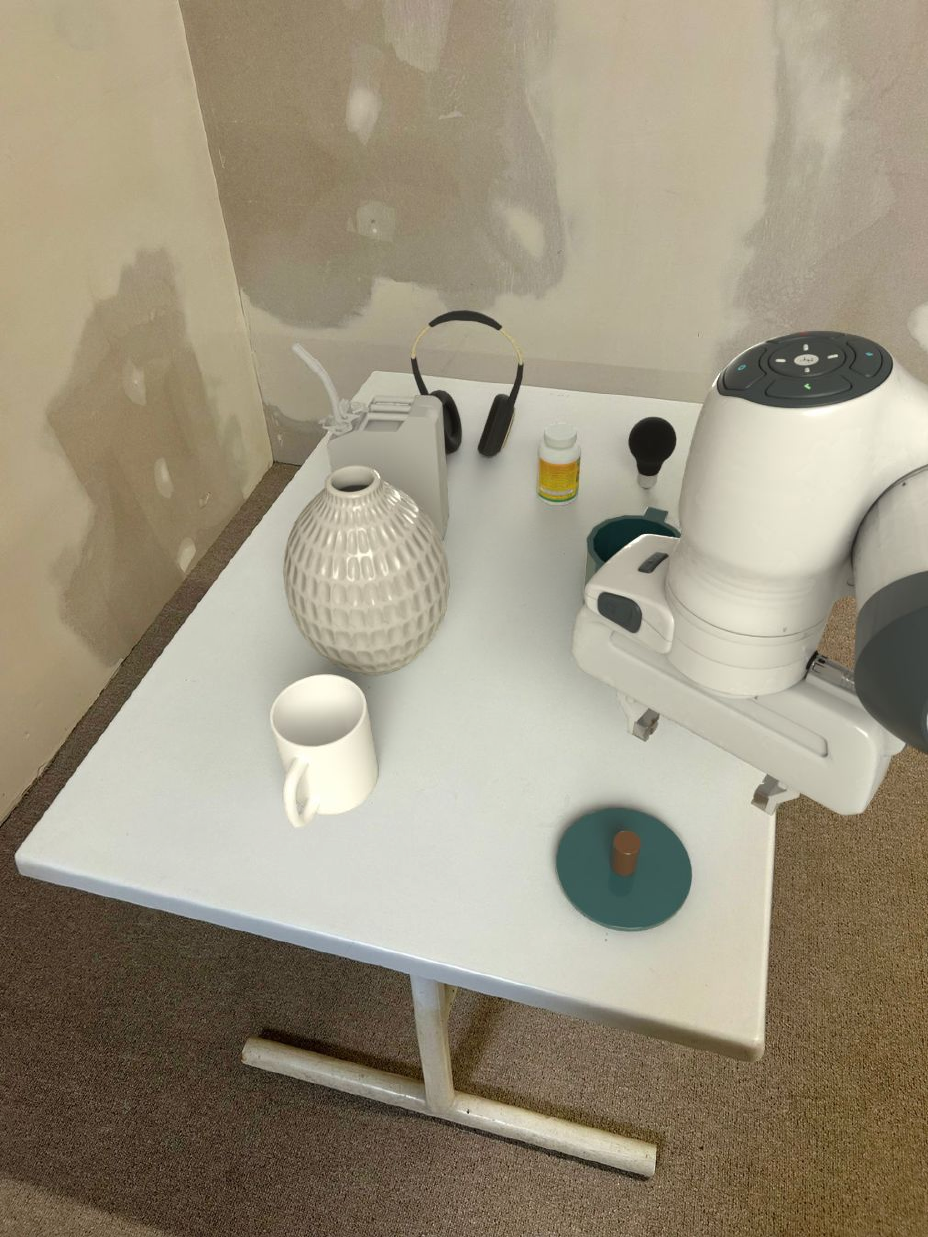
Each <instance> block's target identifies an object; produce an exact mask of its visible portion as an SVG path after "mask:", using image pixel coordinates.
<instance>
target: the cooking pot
mask: <svg viewBox="0 0 928 1237" xmlns="http://www.w3.org/2000/svg"><path fill="white" fill-rule="evenodd" d="M668 518H669V511H668V510H664V509H661V508H657V507H652V506H647V507H646V509H645V511H644V513H643V514H621V515H618V516H613V517H610V518H609V517H608V518H605V519H604V520H602V521H601V522H599V523H598V524H596V525H595V526H593V527H592V528H591V530H590V532H589V534H588V535H587V537H586V541H585V542H586V543H585V555H584V556H585V557H584V569H583V581H582V594H581V595H582V602H581V603H582V606H583V605H584V604H585V600H584V590H585V586H586V584H587V583H588V582H589V581H590V579H591V578H592V577H593V576H594V575H595V573H596V572H597V571H598V570H599V569H600V568H601V567H602V566H603V565H604V564H605V563H606V562H607V561H608V560H609V559H610V558H611V557H613V556H614V555H615V554H616V553H617V552H618V551H620V550H621V549H622V548H623V547H625V546H626V545H627V544H629V543H630V542H632V541H633V540H635V539H636V538H638V537H639V536H641V535H644V534H652V535H659V536H666V537H673V538H680V536H681V531H679V530H678V528H677V527H675V526H673V525H672V524H669V523H668V522H667V521H668Z"/></svg>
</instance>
